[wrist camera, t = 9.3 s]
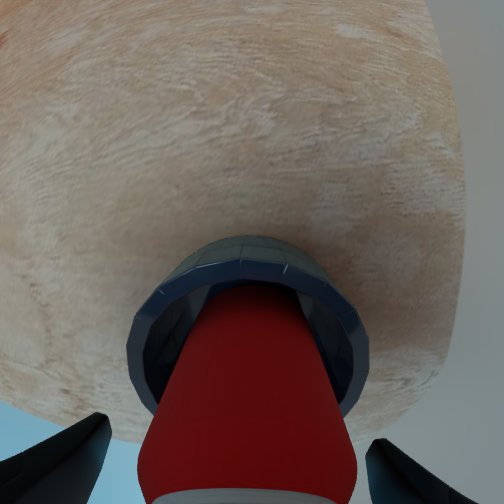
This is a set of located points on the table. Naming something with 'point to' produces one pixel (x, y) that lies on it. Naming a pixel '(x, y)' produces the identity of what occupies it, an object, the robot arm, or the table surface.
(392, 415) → the table surface
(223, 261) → the pot
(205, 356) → the beverage can
